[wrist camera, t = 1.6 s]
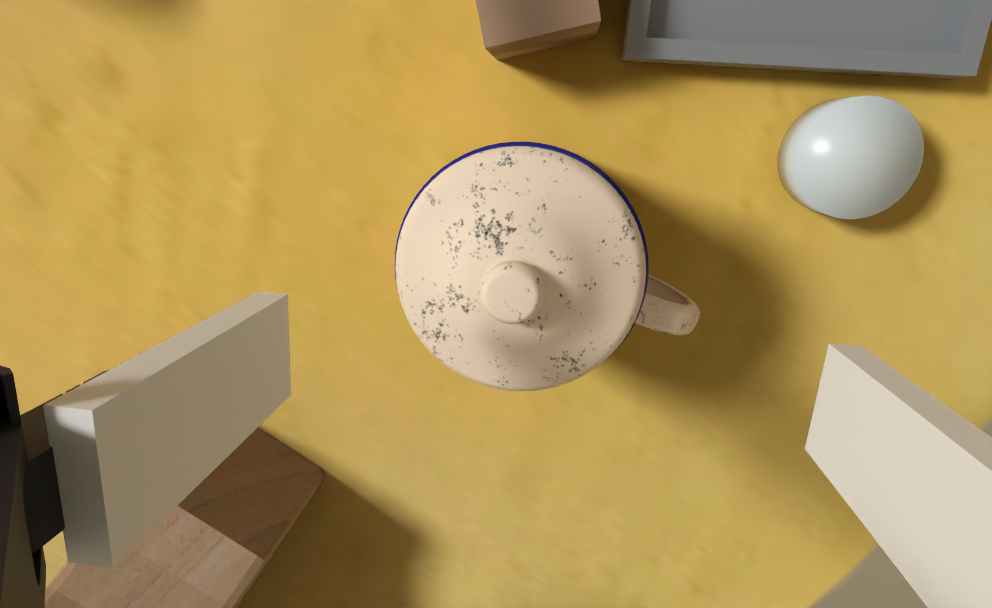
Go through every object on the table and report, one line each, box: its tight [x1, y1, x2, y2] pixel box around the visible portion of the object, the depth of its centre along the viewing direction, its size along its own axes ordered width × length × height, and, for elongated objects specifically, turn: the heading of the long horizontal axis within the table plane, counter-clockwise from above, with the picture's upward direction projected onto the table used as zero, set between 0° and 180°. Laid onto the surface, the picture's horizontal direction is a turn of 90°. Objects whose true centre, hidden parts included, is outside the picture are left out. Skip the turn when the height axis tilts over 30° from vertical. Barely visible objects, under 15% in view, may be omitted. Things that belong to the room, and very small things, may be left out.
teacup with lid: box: [395, 142, 700, 391], centre depth 24 cm, size 12×9×12 cm
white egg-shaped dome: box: [778, 96, 924, 219], centre depth 26 cm, size 5×5×2 cm
